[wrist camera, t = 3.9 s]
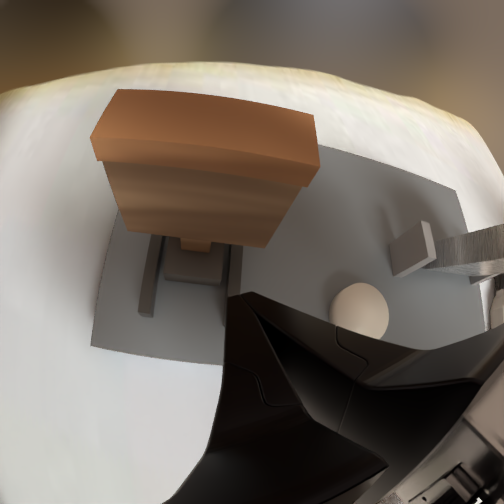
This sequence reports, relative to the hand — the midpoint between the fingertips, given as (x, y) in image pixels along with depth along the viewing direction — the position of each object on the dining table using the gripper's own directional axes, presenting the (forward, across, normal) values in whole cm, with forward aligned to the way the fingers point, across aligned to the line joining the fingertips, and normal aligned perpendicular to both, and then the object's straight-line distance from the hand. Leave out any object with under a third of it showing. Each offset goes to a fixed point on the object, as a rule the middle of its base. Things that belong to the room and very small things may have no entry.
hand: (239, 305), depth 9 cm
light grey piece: (+3, -17, +4) cm, 18 cm away
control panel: (+8, -9, +3) cm, 13 cm away
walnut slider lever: (+7, 0, +1) cm, 7 cm away
